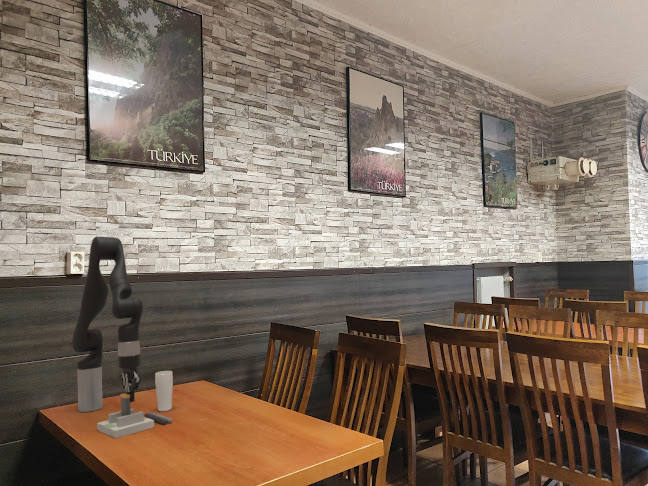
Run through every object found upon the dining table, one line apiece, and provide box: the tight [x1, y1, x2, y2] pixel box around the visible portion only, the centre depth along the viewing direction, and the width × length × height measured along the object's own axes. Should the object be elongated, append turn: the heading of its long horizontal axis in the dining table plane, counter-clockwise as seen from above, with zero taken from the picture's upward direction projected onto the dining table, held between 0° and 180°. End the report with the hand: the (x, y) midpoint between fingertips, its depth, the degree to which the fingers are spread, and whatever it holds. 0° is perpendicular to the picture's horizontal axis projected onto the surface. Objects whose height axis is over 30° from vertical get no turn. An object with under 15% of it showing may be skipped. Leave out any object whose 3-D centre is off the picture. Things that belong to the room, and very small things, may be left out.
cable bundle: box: [144, 411, 173, 425], centre depth 185 cm, size 16×4×2 cm, turn 47°
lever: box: [120, 392, 131, 417], centre depth 176 cm, size 5×2×9 cm, turn 47°
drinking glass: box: [154, 370, 174, 412], centre depth 199 cm, size 7×7×15 cm
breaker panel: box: [96, 408, 155, 439], centre depth 176 cm, size 15×14×6 cm
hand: (130, 401), depth 178 cm, fingers closed
